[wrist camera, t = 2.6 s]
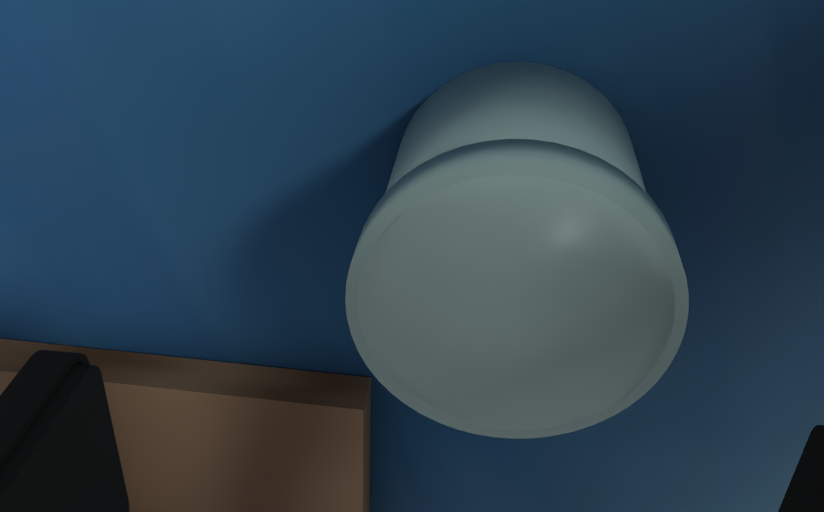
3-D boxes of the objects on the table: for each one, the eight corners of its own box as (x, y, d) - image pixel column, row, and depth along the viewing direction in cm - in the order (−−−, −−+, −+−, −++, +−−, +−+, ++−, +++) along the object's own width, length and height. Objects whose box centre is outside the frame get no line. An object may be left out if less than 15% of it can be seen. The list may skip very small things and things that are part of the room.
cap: (669, 61, 15) (728, 178, 11) (619, 292, 18) (650, 453, 14) (390, 41, 15) (343, 146, 11) (385, 270, 18) (346, 421, 14)
